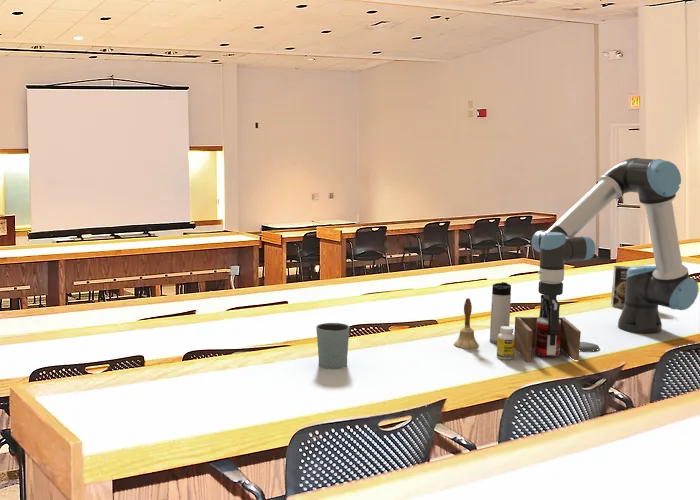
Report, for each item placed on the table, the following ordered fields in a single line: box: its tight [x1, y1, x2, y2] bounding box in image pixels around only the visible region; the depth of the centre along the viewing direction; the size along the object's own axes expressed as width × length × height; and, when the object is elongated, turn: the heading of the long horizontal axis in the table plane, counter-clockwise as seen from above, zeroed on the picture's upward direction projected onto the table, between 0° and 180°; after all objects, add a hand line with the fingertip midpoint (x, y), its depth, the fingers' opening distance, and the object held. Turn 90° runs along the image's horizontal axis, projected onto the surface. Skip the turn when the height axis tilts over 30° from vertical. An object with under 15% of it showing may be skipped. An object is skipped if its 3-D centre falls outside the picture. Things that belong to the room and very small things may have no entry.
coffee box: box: [610, 265, 631, 309], centre depth 352 cm, size 9×6×16 cm
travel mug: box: [489, 281, 512, 345], centre depth 292 cm, size 6×7×20 cm
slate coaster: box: [579, 341, 600, 352], centre depth 289 cm, size 10×10×1 cm
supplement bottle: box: [496, 325, 515, 361], centre depth 274 cm, size 5×5×10 cm
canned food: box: [534, 317, 561, 357], centre depth 278 cm, size 8×8×11 cm
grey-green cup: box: [316, 322, 351, 370], centre depth 262 cm, size 10×10×12 cm
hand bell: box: [453, 298, 480, 350], centre depth 287 cm, size 8×8×16 cm
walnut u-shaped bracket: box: [513, 316, 582, 363], centre depth 280 cm, size 16×18×10 cm
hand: (547, 350), depth 279 cm, fingers closed on canned food, 8 cm apart
